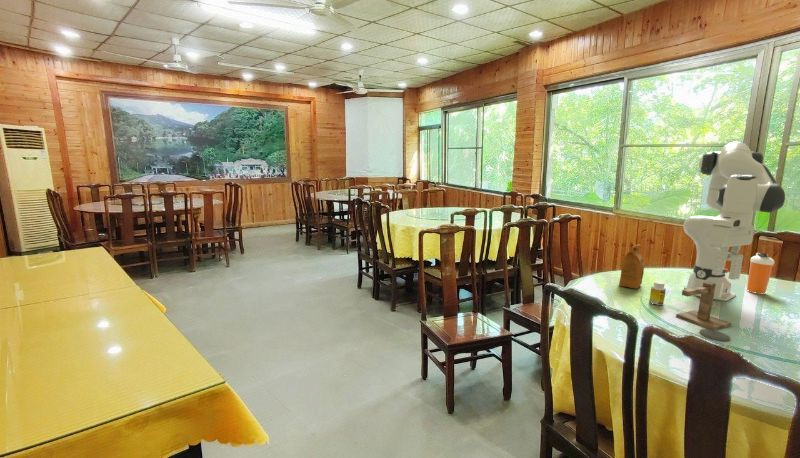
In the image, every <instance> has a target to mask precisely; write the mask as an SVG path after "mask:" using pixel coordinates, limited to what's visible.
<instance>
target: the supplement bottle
mask: <svg viewBox="0 0 800 458" xmlns="http://www.w3.org/2000/svg"><path fill="white" fill-rule="evenodd" d="M666 290H667V288H666V287H665V283H664V282H662V281H659V280H658V281H654V282H653V284H652V285H651V289H650V293H649V301H648V302H649V303H650V302H651V303H653V304H657V305H662V306H664V303H665V297H666ZM651 303H650V304H651ZM653 304H652V305H653ZM657 305H656V306H657Z"/></svg>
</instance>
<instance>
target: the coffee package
mask: <svg viewBox="0 0 800 458" xmlns="http://www.w3.org/2000/svg"><path fill="white" fill-rule="evenodd" d="M642 247H643V246H642V245H641V243H638V244H635V245H633V246H632V248H631V249H630V250H629V251H628V252H627V253H626V254H625V256H623V257H624V258H623V261H622V265H621V268H620V270H621V271H620V278H619V284H618V285H619V287H623V288H630V289H638V288H639V287H640V286H641V285H642V283H643V277H644V270H645V263H644V258H643V257H642V255H641V253H640V249H641V248H642Z"/></svg>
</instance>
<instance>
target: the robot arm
mask: <svg viewBox="0 0 800 458" xmlns="http://www.w3.org/2000/svg"><path fill="white" fill-rule="evenodd" d="M749 147H750V146H748V145H747V144H745V143H744V142H740V141H732V142H729V143H727V144H725V145H724V146H723V147H722V148H721V150H720V151H715V150H714V151H709V152H705V153H704V154H703V155H702V156H701V158H700V160H699V162H698V169H699V170H700V171H699V172H700V174H702V175H706V176H711V177H710V181H709V186H708V189H707V196H706V205H707V207H709V208H710V209H712V210H714V211H717V212H718V213H719V214H718V215H717V216H710V215H709V216H708V215H691V216H689V217H687V218H686V219H685V220H684V223H683V226H682V228H683V231H684V233H685V234H686V235H687V236H689V238H690V239H691V240H692V241H693V242H694V244H695V247H696V259H695V264H694V265H693V271H692V273H690V275H689V278H688V281H687V283H686V284H687V285H686V286H684V287H683V290H685V289H691V288H697V287H702V286H703V282H711V283H715V284H716V287H715V292H714V297H713V300H718V301H723V302H724V301H729V300H731V299H733V298H734V297H736V295H737V294H736V292H733V291H731V289H732V283H731V281H729V280H728V278H726V274H729V269H728V268H725V265H726V261H727V260H725V261H724V266H723V272H722V275H712V269H713V263H714V258H715V252H716V251H721V258H724V259H727V258H729V254H728V252H730V253H735V254H739V251H741V250H740V249H742V246H747V245H748V246H750V245H751V244H752V243H753V240H754V233H755V232H754V230H755V229H754V228H755V227H754V225H753V218H754V213H755V212H763V213H768V214H769V213H774V212H776V211H778V210H781V208H783V207H784V204H785V200H786V194H785V193H786V191H785V190H784V188H783V187H782V186H781V185H779V184H778V182H777V181H776V179H775V177H774V176H773V174H772V173H771V171H770V169H769V168H768V167H767V166H766V165H765V159H764V155H763V154H762V153H761V152H757V151H751V149H750V148H749ZM754 211H755V212H754ZM730 247H731V249H730ZM729 250H730V251H729ZM694 296H695V297H699V298H701V294H698V295H694Z"/></svg>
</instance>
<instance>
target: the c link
mask: <svg viewBox="0 0 800 458" xmlns="http://www.w3.org/2000/svg"><path fill="white" fill-rule="evenodd" d="M730 252H731V251H728V254H729V258H727V259H724V258H721V251H716V252H715V258H714V263H713V269H712V275H722V272H723V266H724V261H725V260H726V261H729V262H730V267H729V271H728V278H727V280H728V279H729V280H734V281H735V280H739V279H740V277H741V271H742V265H743V260H744V256H745V255H744V254H739V253H737V254H735V253H730ZM726 261H725V262H726ZM724 267H725V266H724Z"/></svg>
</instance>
